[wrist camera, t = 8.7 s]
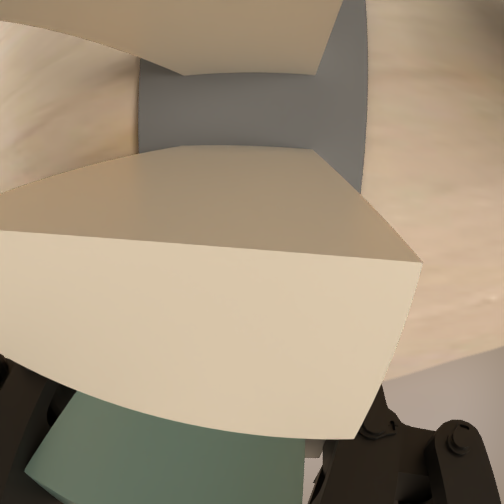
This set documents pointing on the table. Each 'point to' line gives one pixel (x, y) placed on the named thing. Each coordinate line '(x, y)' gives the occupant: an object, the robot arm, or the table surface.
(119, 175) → the domino
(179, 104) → the mat
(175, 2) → the domino
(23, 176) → the table surface
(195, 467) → the domino
